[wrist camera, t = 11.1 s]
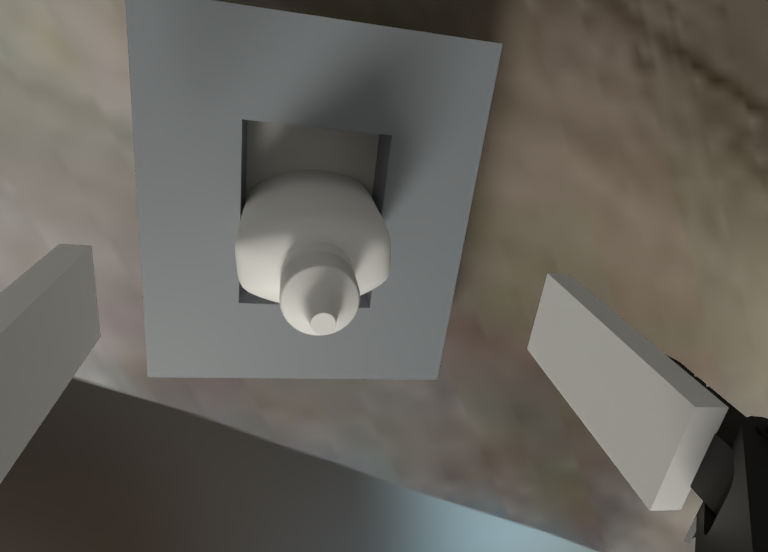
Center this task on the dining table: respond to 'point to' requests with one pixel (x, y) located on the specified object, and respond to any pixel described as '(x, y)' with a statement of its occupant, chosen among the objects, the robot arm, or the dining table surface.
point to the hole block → (298, 153)
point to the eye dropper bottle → (312, 247)
